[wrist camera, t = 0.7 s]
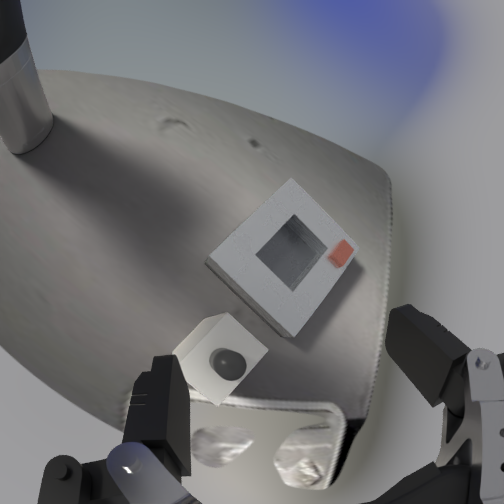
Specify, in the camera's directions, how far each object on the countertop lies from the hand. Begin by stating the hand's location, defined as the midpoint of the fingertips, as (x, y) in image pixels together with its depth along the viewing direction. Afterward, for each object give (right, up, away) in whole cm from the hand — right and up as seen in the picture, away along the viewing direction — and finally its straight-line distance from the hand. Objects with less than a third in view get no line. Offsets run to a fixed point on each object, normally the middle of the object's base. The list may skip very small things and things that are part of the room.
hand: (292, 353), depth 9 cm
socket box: (+2, +3, +27) cm, 28 cm away
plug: (-7, -7, +22) cm, 24 cm away
